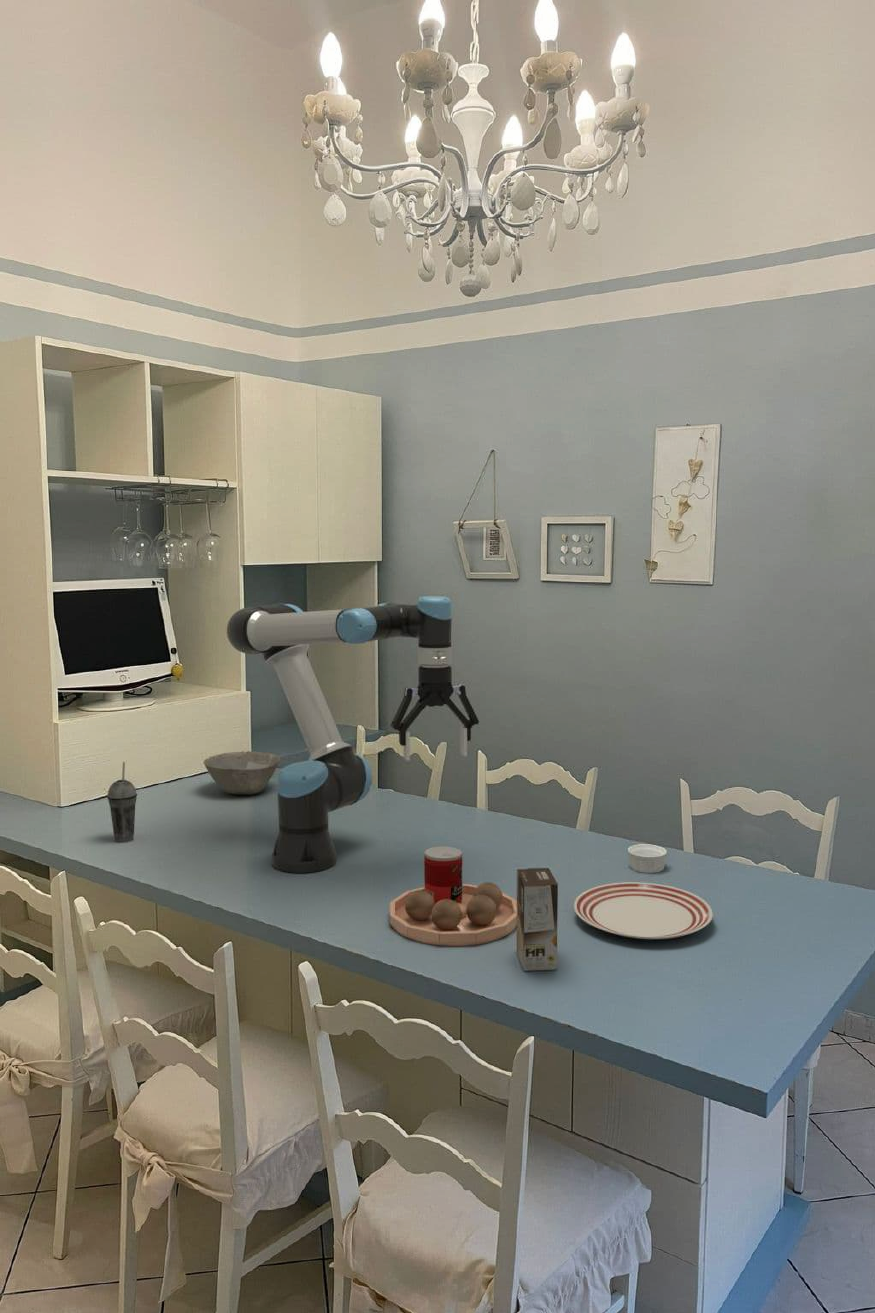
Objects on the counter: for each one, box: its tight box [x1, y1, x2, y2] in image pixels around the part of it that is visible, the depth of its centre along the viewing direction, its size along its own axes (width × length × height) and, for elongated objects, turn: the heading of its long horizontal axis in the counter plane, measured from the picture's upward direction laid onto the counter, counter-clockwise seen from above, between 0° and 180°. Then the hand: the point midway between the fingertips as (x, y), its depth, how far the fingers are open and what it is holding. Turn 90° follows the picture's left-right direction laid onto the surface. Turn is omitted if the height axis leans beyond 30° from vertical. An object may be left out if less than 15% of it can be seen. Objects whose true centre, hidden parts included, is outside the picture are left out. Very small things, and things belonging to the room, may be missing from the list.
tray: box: [389, 883, 517, 947], centre depth 202 cm, size 26×26×2 cm
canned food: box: [423, 845, 463, 904], centre depth 208 cm, size 8×8×11 cm
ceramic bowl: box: [203, 750, 281, 796], centre depth 298 cm, size 22×23×10 cm
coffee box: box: [516, 867, 559, 972], centre depth 182 cm, size 9×6×16 cm
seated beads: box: [405, 881, 503, 931], centre depth 201 cm, size 18×18×6 cm
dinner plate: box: [573, 881, 714, 940], centre depth 201 cm, size 28×27×3 cm
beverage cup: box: [106, 761, 138, 843], centre depth 253 cm, size 7×7×20 cm
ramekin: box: [627, 843, 667, 874], centre depth 232 cm, size 9×9×4 cm
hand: (435, 757), depth 228 cm, fingers open, 13 cm apart
